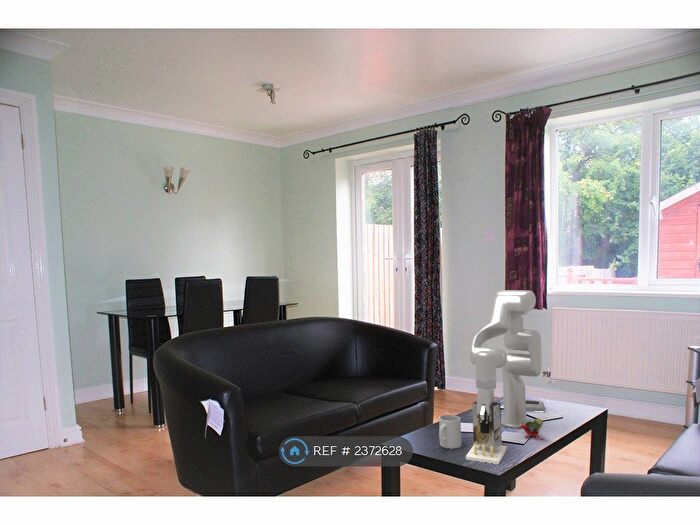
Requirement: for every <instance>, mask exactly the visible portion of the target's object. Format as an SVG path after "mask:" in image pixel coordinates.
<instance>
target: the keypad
mask: <svg viewBox="0 0 700 525" xmlns="http://www.w3.org/2000/svg"><path fill="white" fill-rule="evenodd" d="M527 411H544V412H545V403H544V402H543V401H541V400H533V399H532V400H531V399H526V412H527Z"/></svg>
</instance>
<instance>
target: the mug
mask: <svg viewBox="0 0 700 525" xmlns="http://www.w3.org/2000/svg"><path fill="white" fill-rule="evenodd" d="M461 421H462V420H461V417H460V416H458V415H457V414H456V415H454V414H442V415H440V416H439V417H438V422H439V423H438V424H439V431H438V438H439V444H440V447H442V448H444V449H448V448H449V450H451V449H453V450H455V449H459V448H461V447H462V427H461V426H462V424H461ZM454 448H455V449H454Z"/></svg>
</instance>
